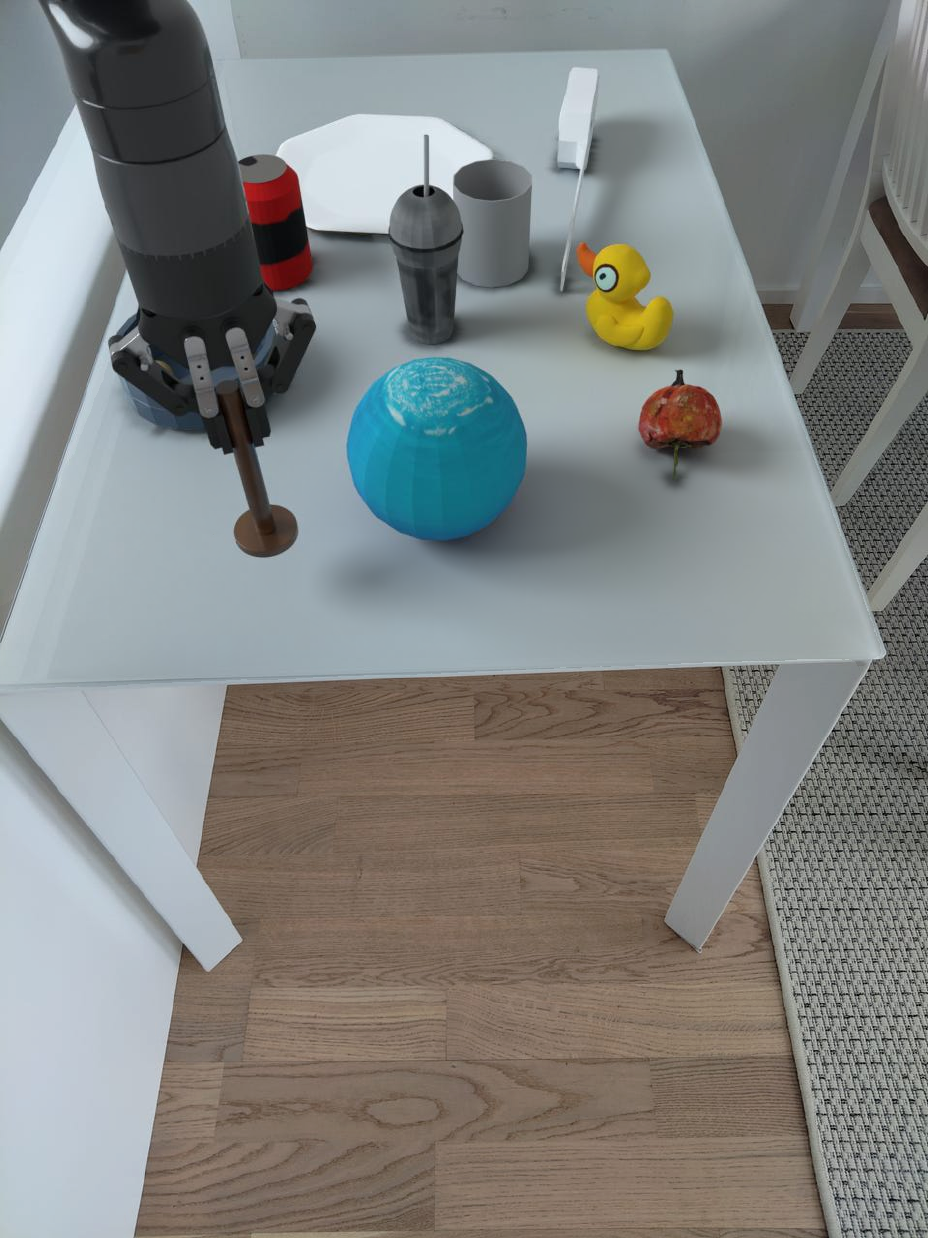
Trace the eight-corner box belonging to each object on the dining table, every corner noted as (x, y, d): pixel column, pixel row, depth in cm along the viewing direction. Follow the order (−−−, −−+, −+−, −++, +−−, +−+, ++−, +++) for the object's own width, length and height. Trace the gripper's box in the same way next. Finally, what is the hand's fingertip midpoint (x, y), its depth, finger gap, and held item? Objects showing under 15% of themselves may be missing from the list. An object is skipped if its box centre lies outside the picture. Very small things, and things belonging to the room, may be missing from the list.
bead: (150, 398, 91) (141, 375, 89) (146, 380, 93) (138, 357, 91) (178, 391, 92) (170, 369, 89) (174, 374, 93) (166, 351, 91)
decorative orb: (356, 458, 87) (336, 323, 74) (515, 448, 87) (520, 312, 75) (357, 583, 78) (334, 453, 66) (533, 571, 78) (543, 440, 66)
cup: (439, 268, 104) (436, 182, 96) (485, 236, 108) (486, 151, 100) (497, 296, 101) (499, 210, 93) (543, 262, 105) (548, 176, 96)
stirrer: (241, 564, 72) (195, 419, 60) (230, 519, 74) (183, 372, 62) (304, 548, 72) (271, 402, 60) (291, 504, 75) (256, 356, 63)
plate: (245, 236, 109) (242, 224, 107) (297, 121, 125) (295, 110, 123) (477, 248, 106) (477, 236, 105) (499, 130, 122) (500, 118, 121)
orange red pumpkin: (712, 489, 86) (729, 383, 86) (712, 477, 79) (730, 362, 79) (633, 480, 88) (649, 377, 88) (626, 468, 81) (643, 355, 81)
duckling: (557, 330, 97) (563, 243, 89) (586, 305, 100) (595, 219, 92) (648, 373, 93) (663, 286, 85) (676, 346, 95) (694, 259, 87)
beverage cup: (386, 343, 97) (366, 154, 80) (414, 303, 100) (400, 115, 84) (450, 359, 95) (442, 169, 79) (476, 318, 99) (474, 129, 83)
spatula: (524, 307, 104) (560, 311, 103) (526, 245, 97) (565, 249, 96) (565, 115, 123) (595, 117, 122) (569, 52, 116) (601, 54, 115)
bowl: (138, 450, 88) (121, 408, 84) (120, 351, 96) (103, 309, 92) (298, 412, 90) (289, 370, 86) (266, 320, 99) (257, 277, 95)
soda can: (285, 245, 107) (266, 141, 98) (327, 271, 104) (311, 167, 95) (233, 272, 104) (207, 168, 95) (273, 300, 101) (251, 196, 91)
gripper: (59, 273, 48) (152, 502, 62) (314, 224, 51) (349, 455, 65) (49, 200, 52) (138, 430, 66) (285, 158, 55) (323, 388, 69)
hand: (242, 441), depth 65 cm, fingers closed on stirrer
